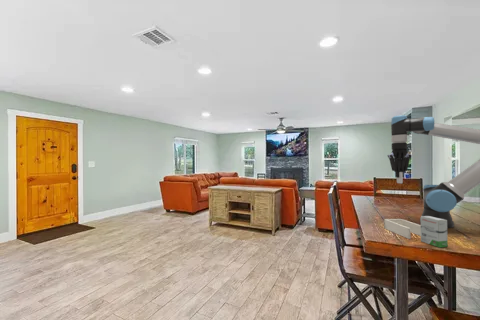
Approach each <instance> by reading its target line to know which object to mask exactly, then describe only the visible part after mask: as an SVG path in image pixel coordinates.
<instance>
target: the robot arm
mask: <svg viewBox="0 0 480 320" xmlns="http://www.w3.org/2000/svg"><path fill="white" fill-rule="evenodd" d="M390 127H391V128H390V130H391V153H390V154H387V158H388V159H389V160H388V161H389V163H390V166H391V168H390V169H391V171H392V172H395V178H396V183H397V184H403V181H404V180H403V178H404V173H405V172H406V171H408V167H409V164H410V160H411V157H412V154H410V153H408V150H407V149H408V133H411V132H413V134H417V135H427V136H432V137H437V138H443V139H448V140H455V141H459V142H467V143H471V144H477V145H480V129H478V128H473V127H472V128H471V127H465V126H459V125H452V124H445V123H439V122H435V117H433V116H424V117H414V118H408V116H407V115H403V114H401V115H394V116H392V117H391V123H390ZM479 185H480V158H479V159H478V160H477V161H475V162H474V163H472V164H471V165H470V166H468V167H467V168H465V169H464V170H463V171H461V172H460V173H458V174H457V175H456V176H455V177H453V178H452V179H450V180H448V181H442V182H441V183H439V184H424V185H423V188H422V191H423V211H422V213H421V216H431V217H435V218H440V219H444V220H447V229H451V228H452V229H453V228H454V227H455V222H454V220H453V218H452V215H451V211H452V210H453V209H455V207H456V206H457V204H459V203H460V202H462V201H463V200H464V198H465V194H467V193H469V192H470V191H471V190H473V189H475V188H476V187H478V186H479ZM419 222H420V224H421V217H420V218H419Z"/></svg>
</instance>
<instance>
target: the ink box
mask: <svg viewBox="0 0 480 320" xmlns="http://www.w3.org/2000/svg"><path fill="white" fill-rule="evenodd" d="M420 218H421V223H420V225H421V236H420V242H421V243H425V244H428V245H431V246H433V247H437V248H447V247H449V245H448V244H449V243H448V242H449V240H448V228H447V220H444V219H440V218H435V217H431V216H422V215H421V216H420Z"/></svg>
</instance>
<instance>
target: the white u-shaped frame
mask: <svg viewBox="0 0 480 320" xmlns="http://www.w3.org/2000/svg"><path fill="white" fill-rule="evenodd" d="M383 229H385V230H388V231H390V232H392V233H394V234H397V235H399V236H402V237H404V238H406V239H408V240H411V239H412V238H411V234H415V235H417V236H420V237H421V224H419V223H415V222H413V221H412V222H411V221H409V220H406V219H404V218H385V219H383Z"/></svg>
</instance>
